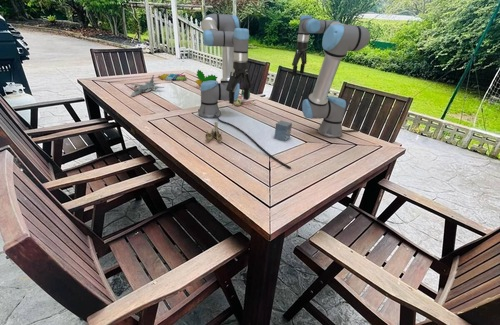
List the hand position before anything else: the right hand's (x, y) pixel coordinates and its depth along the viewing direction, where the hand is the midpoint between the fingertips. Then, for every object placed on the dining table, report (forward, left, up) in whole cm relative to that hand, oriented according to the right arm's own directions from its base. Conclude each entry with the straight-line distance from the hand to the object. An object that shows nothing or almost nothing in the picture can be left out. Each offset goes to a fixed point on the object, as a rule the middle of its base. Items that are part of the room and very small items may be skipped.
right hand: (297, 74), depth 184 cm
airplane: (+102, -81, -30) cm, 134 cm away
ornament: (+46, -90, -30) cm, 105 cm away
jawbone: (+68, +31, -30) cm, 80 cm away
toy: (+27, -39, -30) cm, 56 cm away
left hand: (+53, +29, -8) cm, 61 cm away
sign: (+74, -134, -30) cm, 156 cm away
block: (+28, +38, -30) cm, 55 cm away
